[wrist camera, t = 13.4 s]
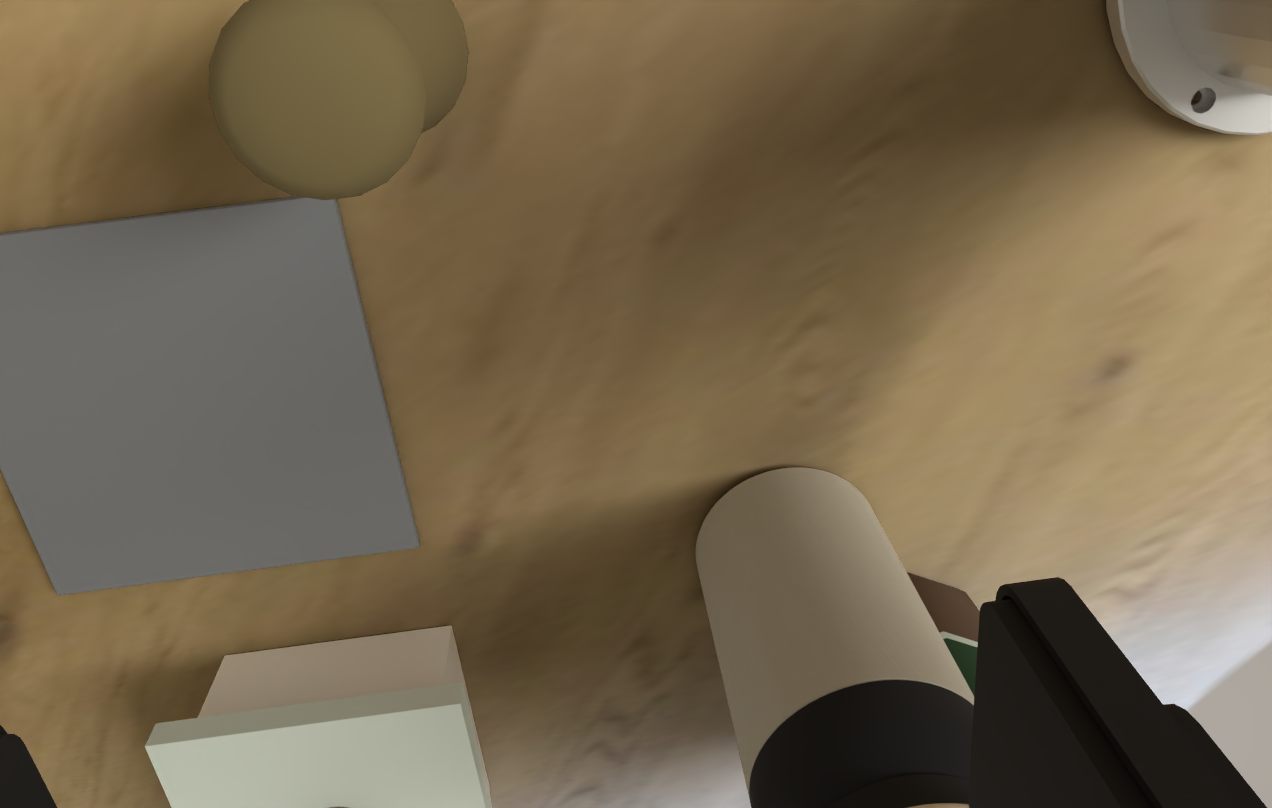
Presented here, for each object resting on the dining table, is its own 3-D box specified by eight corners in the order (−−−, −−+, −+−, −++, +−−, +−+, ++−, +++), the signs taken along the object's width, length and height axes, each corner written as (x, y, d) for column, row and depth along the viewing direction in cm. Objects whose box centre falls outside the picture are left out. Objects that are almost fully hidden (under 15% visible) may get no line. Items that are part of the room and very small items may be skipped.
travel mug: (702, 462, 41) (800, 811, 25) (888, 463, 42) (1100, 804, 26) (687, 616, 45) (765, 1011, 29) (859, 615, 45) (1030, 999, 29)
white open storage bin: (451, 625, 44) (440, 705, 39) (489, 787, 48) (483, 876, 44) (224, 655, 44) (187, 740, 39) (284, 816, 48) (257, 908, 44)
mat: (334, 192, 35) (332, 194, 35) (419, 542, 42) (418, 547, 42) (-93, 244, 35) (-100, 247, 34) (62, 589, 42) (57, 595, 41)
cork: (405, 176, 35) (350, 277, 25) (249, 67, 33) (123, 132, 23) (504, 32, 33) (485, 81, 24) (345, -92, 31) (252, -95, 22)
